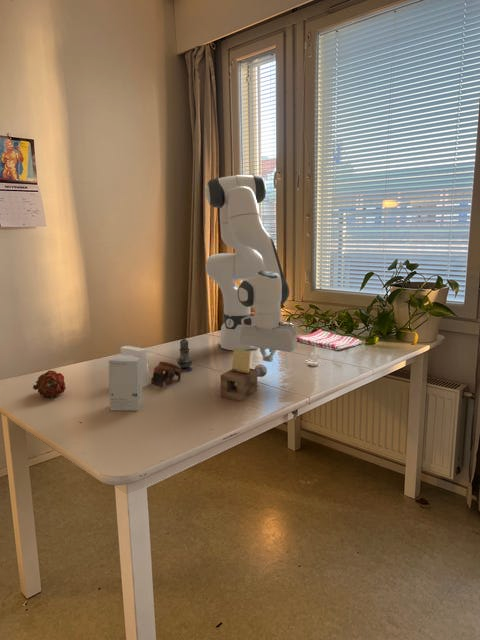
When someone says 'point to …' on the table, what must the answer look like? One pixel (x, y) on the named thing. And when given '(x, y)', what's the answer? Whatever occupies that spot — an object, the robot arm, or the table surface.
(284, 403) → the table surface
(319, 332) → the dish towel
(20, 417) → the table surface
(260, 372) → the pin
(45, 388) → the dragon fruit
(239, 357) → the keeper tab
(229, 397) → the hitch block
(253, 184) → the robot arm
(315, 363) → the teacup and saucer
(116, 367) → the skincare box
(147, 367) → the base with upright slab
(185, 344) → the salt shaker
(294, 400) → the table surface
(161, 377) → the brown grey sculpted ring
